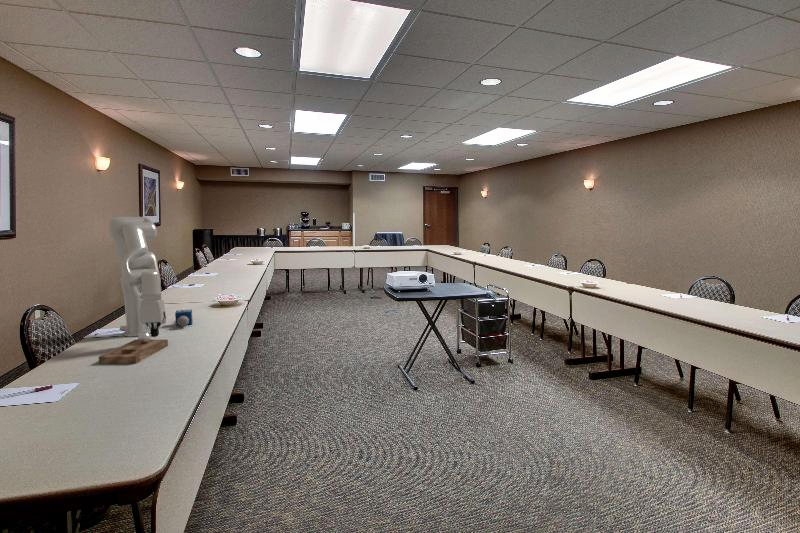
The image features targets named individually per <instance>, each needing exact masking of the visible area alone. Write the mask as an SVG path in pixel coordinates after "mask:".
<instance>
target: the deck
mask: <svg viewBox="0 0 800 533" xmlns="http://www.w3.org/2000/svg"><path fill="white" fill-rule="evenodd" d="M168 340H169V339H150V341H149V342H147V343H141V342H140V341H139V340H138V339H133V340H132V341H129V342H127V343H125V344H122V345H121V346H118V347H117V348H115V349H112V350H110V351H108V352H106V353H104V354H102V355H100V356H98V364H99V365H108V364H109V365H112V364H113V365H116V364H117V365H118V364H119V365H121V364H123V365H126V364H127V365H128V364H129V365H130V364H131V365H132V364H133V365H134V364H138V363H139V362H140V363H141V362H142V361H144V360H145V359H147V358H149V357H151V356H153V355H154V354H156V353H158V352H160V351H162V350H163V349H165V348H167V347H169V341H168ZM161 349H162V350H161ZM152 354H153V355H152ZM150 355H151V356H150ZM143 359H144V360H143ZM141 360H142V361H141Z"/></svg>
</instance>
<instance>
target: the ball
mask: <svg viewBox="0 0 800 533" xmlns="http://www.w3.org/2000/svg"><path fill="white" fill-rule="evenodd" d="M137 340H139V341H140V342H141V343H147V342H149V341H150V340H152V337H151V333H148V332H142V333H140V334H139V336H137Z"/></svg>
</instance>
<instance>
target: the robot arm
mask: <svg viewBox="0 0 800 533" xmlns="http://www.w3.org/2000/svg"><path fill="white" fill-rule="evenodd" d="M108 229H109V234H110V236H111V238H112V239H113V241H114V243H115V245H116V247H117V253H118V259H119V262H120V263H119V264H120V266H121V274H122V275H121V276H120V279H119V280H120V286H121V290H122V294H123V300H124V301H123V303H124V311H125V312H124V313H125V323H126V325H120V326H119V331H124V332H123V334H122V335H123V336H125V337H130V338H131V337H138V336H139V334H140V333H142V332H148V333H149V334H150V335H151V338H157V337H158V336H159V334H160V329H159V328H160V327H161V325H164V324H166V323H167V321H166V320H167V311H166V307H165V303H164V300H163V299H162V288H161V285H162V284H161V283H162V281H161V274H160V270H159V264H158V261H157V256H156V254H154V252H152V251H149V247H148V244H147V240H151V239H156V237H157V236H158V229H157V226H156V225H155V223H154V221H152V220H151V219H150V218H148V217H145V216H116V217H113V218H111V219H110V220H109V221H108Z"/></svg>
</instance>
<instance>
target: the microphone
mask: <svg viewBox="0 0 800 533" xmlns="http://www.w3.org/2000/svg"><path fill="white" fill-rule="evenodd" d="M174 314H175V315H174V317H175V327H176V328H178V327H177V326H181V327H188V326H187V325H192V326H193V310H192V309H181V310H175V313H174Z"/></svg>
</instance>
